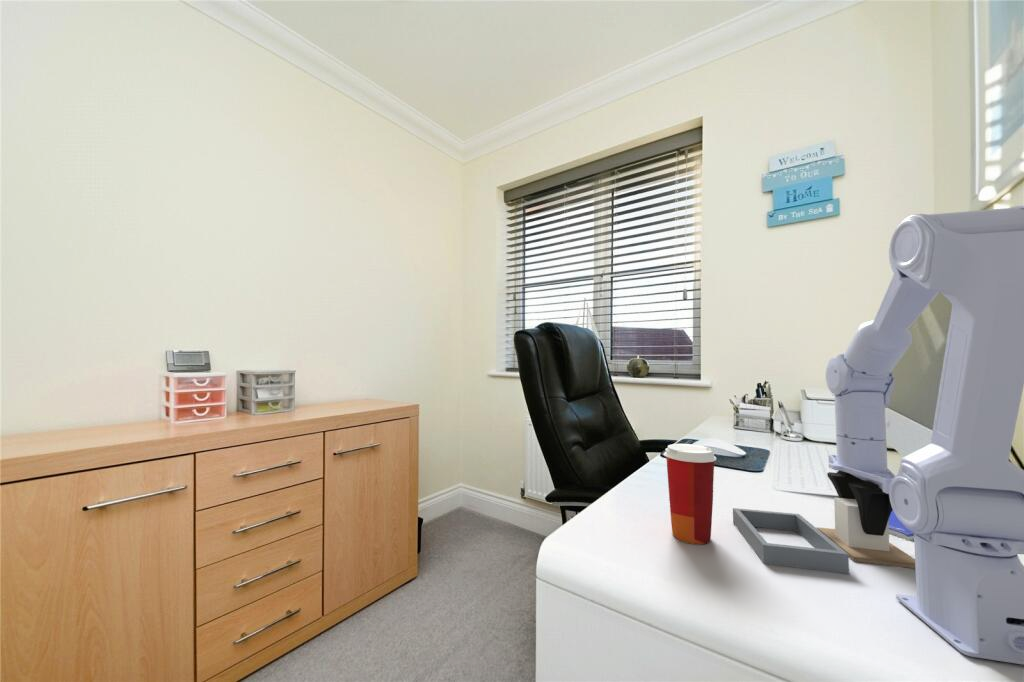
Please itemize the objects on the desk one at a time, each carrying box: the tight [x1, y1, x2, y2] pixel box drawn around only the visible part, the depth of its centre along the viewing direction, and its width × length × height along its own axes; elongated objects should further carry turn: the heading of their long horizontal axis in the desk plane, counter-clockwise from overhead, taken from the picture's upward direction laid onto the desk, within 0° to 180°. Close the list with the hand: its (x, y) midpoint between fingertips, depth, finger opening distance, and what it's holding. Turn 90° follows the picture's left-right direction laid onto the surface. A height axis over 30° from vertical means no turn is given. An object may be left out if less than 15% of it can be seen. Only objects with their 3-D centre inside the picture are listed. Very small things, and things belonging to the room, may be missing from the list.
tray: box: [732, 507, 850, 574], centre depth 59 cm, size 14×10×2 cm
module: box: [833, 497, 890, 551], centre depth 59 cm, size 4×5×6 cm
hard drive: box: [888, 510, 914, 541], centre depth 67 cm, size 2×8×12 cm
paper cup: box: [663, 443, 717, 545], centre depth 62 cm, size 8×8×14 cm
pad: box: [816, 526, 916, 569], centre depth 58 cm, size 10×8×1 cm
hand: (864, 527), depth 58 cm, fingers open, 4 cm apart
